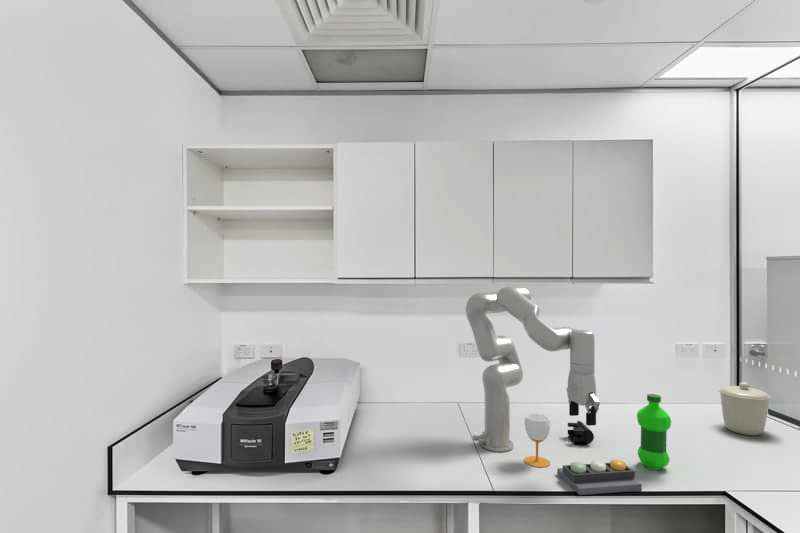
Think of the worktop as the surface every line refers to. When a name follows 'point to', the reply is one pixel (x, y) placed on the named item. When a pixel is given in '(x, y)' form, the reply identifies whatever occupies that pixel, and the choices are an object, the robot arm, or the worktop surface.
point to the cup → (537, 436)
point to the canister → (744, 409)
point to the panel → (600, 480)
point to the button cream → (598, 466)
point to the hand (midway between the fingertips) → (582, 420)
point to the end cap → (580, 434)
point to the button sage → (578, 468)
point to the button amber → (618, 465)
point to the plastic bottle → (653, 434)
